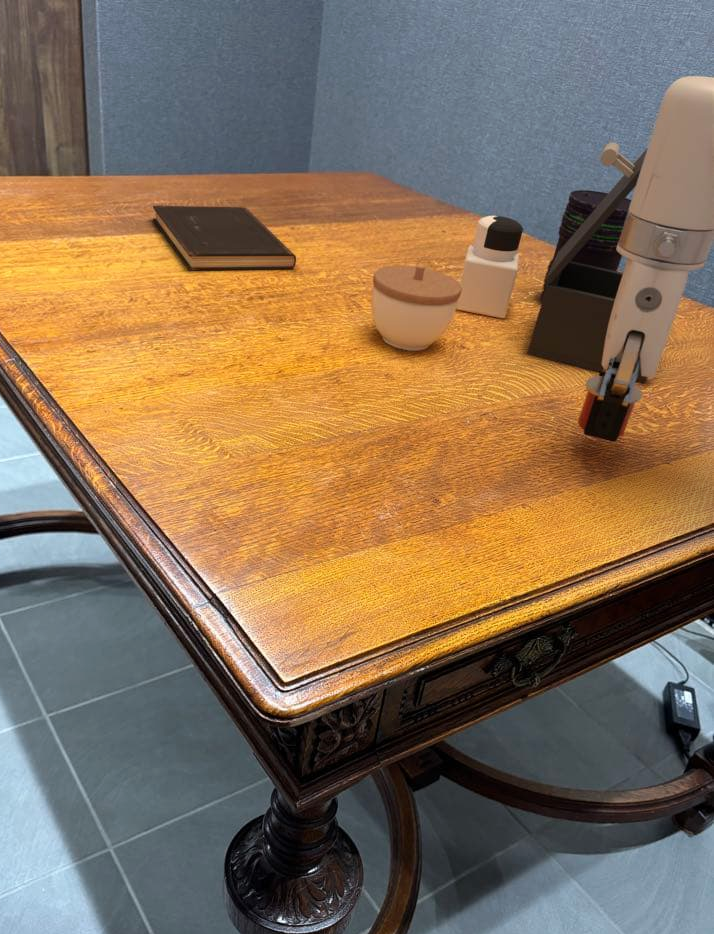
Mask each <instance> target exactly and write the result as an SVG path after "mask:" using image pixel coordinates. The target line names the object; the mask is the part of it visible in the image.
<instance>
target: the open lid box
mask: <svg viewBox="0 0 714 934" xmlns="http://www.w3.org/2000/svg"><path fill="white" fill-rule="evenodd" d="M622 275H623V272H622V271H618V270H617V271H613V270H609V269H604V268H600V267H595V266H591V265H586V264H582V263H577V262H573V261H570V262H569V263H568V264H567V265H566V267H565V268H564V269H563V270H562V271H561V272H560V273H559V275H558V276H557V277H556V278H555V279H554V280H553V281H552V283H549V282H548V284H547V287H546V290H545V294H544V297H543V300H542V302H541V304H540V307H539V311H538V314H537V317H536V321H535V324H534V328H533V331H532V335H531V338H530V342H529V345H528V348H527V351H526V355H531V356H533V357H538V358H542V359H546V360H550V361H554V362H558V363H561V364H566V365H570V366H574V367H578V368H582V369H586V370H591V371H593V372H594V371H595V372H599V373H600V372H605V371H603V369H604V368H603V366H602V365H601V364H602V358H603V351H604V344H605V339H606V333H607V329H608V324H609V320H610V316H611V312H612V309H613V305H614V301H615V298H616V295H617V291H618V288H619V285H620V282H621V278H622ZM634 369H635V367H634ZM634 369H633V372H634ZM605 373H606V372H605ZM647 381H648V380H647V379H646V377H645V376H641V366H640V369H639V372H638V377H637V379H636V382H637V383H642V384H646V382H647Z"/></svg>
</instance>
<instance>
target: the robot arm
mask: <svg viewBox="0 0 714 934" xmlns="http://www.w3.org/2000/svg"><path fill="white" fill-rule="evenodd" d="M647 148H648V149H647ZM647 148H646V149H647V152H646V155H645V158H644V162H643V165H642V168H641V171H640V174H639V178H638V181H637V184H636V186H635V187H634V189H633V190H634V191H633V194H632V199H631V200H632V201H631V203H630V207H629V210H628V213H627V216H626V220H625V223H624V226H623V229H622V232H621V236H620V239H619V242H618V245H617V248H616V250H617V252H619V253H620V254H621V255H622V257H623V258H626V259H627V260H626V263H625V266H624V269H623V272H622V273H623V275H622V278H621V282H620V285H619V288H618V291H617V295H616V298H615V301H614V305H613V309H612V312H611V316H610V320H609V324H608V329H607V333H606V339H605V344H604V351H603V358H602V364H601V365H602V366H603V368H604V369H603V371H605V372H606V373H605V372H599V374H598V376H604V380H603V383H602V386H601V389H600V392H599V395H598V396H596V395H595V398H594V401H593V404H592V407H591V410H590V413H589V416H588V419H587V422H586V425H585V428H584V430H583V434H584V435H585V436H587V437H591V438H592V437H593V438H595V439H596V438H597V439H600V440H604V441H608V442H616V441H617V440H618V439H619V437H618V436H619V433H620V430H621V427H622V425H623V422H624V419H625V416H626V414H627V411H628V408H629V405H630V403H629V400H630V397H631V394H632V391H633V388H634V385H635V386H636V382H637V381H636V379H637V377H638V372H639V369H640V366H641V376H645V377H646V379H647V380H646V381H650V380H652V379H654V378H655V377H656V374H657V371H658V369H659V365H660V362H661V359H662V356H663V353H664V350H665V348H666V345H667V341H668V339H669V336H670V334H671V330H672V327H673V325H674V321H675V318H676V316H677V313H678V310H679V307H680V305H681V302H682V297H683V295H684V293H685V288H686V284H687V281H688V277H689V273H690V272H691V271H692V272H693V271H698V270H700V269H703V268H704V267H705V264H706V261H707V259H708V256H709V253H710V251H711V248H712V246H713V243H714V77H711V76H703V75H702V76H701V75H688V76H687V75H686V76H683V77H679V78H678V79H676V80H675V81H674V82H672V83H671V84H670V86H669V87H668V88H667V90H666V92H665V94H664V96H663V99H662V102H661V104H660V107H659V110H658V113H657V117H656V120H655V123H654V127H653V131H652V132H651V137H650V140H649V142H648V145H647ZM634 367H635V369H634ZM633 369H634V372H633ZM611 377H614V378H615V379H614V381H612V380H611V382H610V383H609V381H610V378H611Z"/></svg>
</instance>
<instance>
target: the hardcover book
mask: <svg viewBox="0 0 714 934" xmlns="http://www.w3.org/2000/svg"><path fill="white" fill-rule="evenodd" d="M152 209H153V210H154V212H155V218H152V221H153V222H154V223H155V225H156V226H157V228H158V229H159V231H160V232H161V234H162V235H163V236H164V238H165V239H166V241H167V242H168V243H169V244H170V246H171V247H172V249H173V251H174V252H175V253H176V254H177V256H178V257H179V259H180V260H181V261H182V263H183V264H184V265H185V267H186V268H187V270H188V271H253V270H254V271H255V270H256V271H257V270H258V271H262V270H263V271H264V270H271V271H272V270H293V269H294V268H295V266H296V263H297V256H296V254H294V253H293V252H292V251H291V249H290V248H288V246H286V245H285V244H284V243H283V242H282V241H281V240H280V239H279V238H278V237H277V236H276V235H275V234H274V233H273V232H272V231H271V230H270V229H269V228H268V227H267V226H266V225H265V224H264V223H262V221H260V220H259V219H258V217H256V216H255V215H254V214H253V213H252V212H251V211H250V210H249V209H248V208H247V207H245V206H198V205H197V206H195V205H194V206H192V205H152Z"/></svg>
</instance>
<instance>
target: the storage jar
mask: <svg viewBox="0 0 714 934" xmlns="http://www.w3.org/2000/svg"><path fill="white" fill-rule="evenodd" d="M608 193H609V192H603V191H596V190H585V189H583V190H581V189H579V190H572V191H571V192H570V193H569V196H568V202H567V204H566V206H565V211H564V212H563V214H562V217H561V223H560V226H559V228H558V239H557V243H556V247H555V250H554V253H553V257H552V259H551V260H550V261H549V263H548V265H547V271H546V273H545V276H544V279H543V283H544V284H543V286H542V292H541V293H540V295H539V301H540V303H542V300H543V297H544V294H545V290H546V287H547V284H548V281H547V280H546V278H547V275H548V273H549V271H550V269H551V267H552V264H553V262H554V260H555V258H556V256H557V253H558V252H559V251H560V250H561V248H562V247H563V246H564V245H565V244H566V243H567V241H568V240H569V239H570V238H571V237H572V236H573V234H574V233H575V232H576V231H577V230H578V228H579V227H580V226H581V225H582V224H583V223H584V221H585V220H586V219H587V218H588V217H589V216H590V214H591V213H592V212H593V211H594V210H595V209H596V207H597V206H598V205H599V204H600V203H601V202H602V200H603V199H604V198H605V197H606V196H607V194H608ZM631 201H632V199H629V198H627V197H626V198H625V199H624V200H623V201H622V202H621V203H620V205H619V206H618V207H617V208H616V209H615V210H614V211H613V213H612V214H611V215H610V216H609V217H608V218H607V220H606V221H605V222H604V223H603V224H602V225H601V226H600V228H599V229H598V230H597V231H596V232H595V233H594V234H593V236H592V237H591V238H590V239H589V240H588V241H587V242H586V244H585V245H584V246H583V247H582V248H581V249H580V250H579V252H578V253H577V254H576V255H575V256H574V257H573V258H572V260H571V261H573V262H577V263H582V264H586V265H591V266H595V267H600V268H604V269H609V270H613V271H618V269H619V266H620V264H621V261H622V258H623V256H622V255H621V254H620V253H619V252H617V250H616V248H617V245H618V242H619V239H620V236H621V232H622V229H623V226H624V223H625V220H626V216H627V213H628V210H629V207H630V203H631Z"/></svg>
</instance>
